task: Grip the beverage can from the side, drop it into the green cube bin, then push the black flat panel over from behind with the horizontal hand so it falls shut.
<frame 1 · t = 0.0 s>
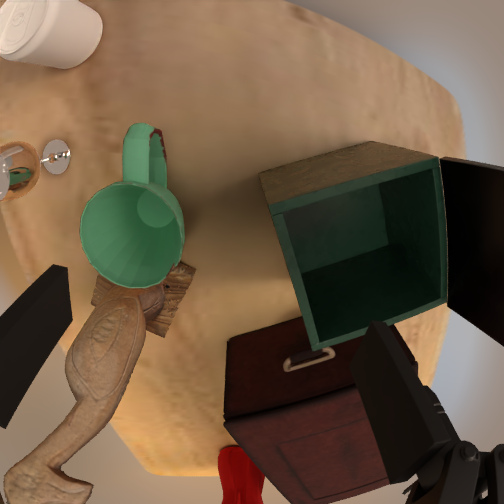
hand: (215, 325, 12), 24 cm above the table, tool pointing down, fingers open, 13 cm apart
beverage can: (76, 38, 26), on the table
wineglass: (57, 156, 32), on the table
mug: (158, 186, 34), on the table
bird sculpture: (141, 284, 39), on the table
storage box: (318, 393, 48), on the table
water bottle: (241, 451, 55), on the table
green cube bin: (332, 211, 35), on the table
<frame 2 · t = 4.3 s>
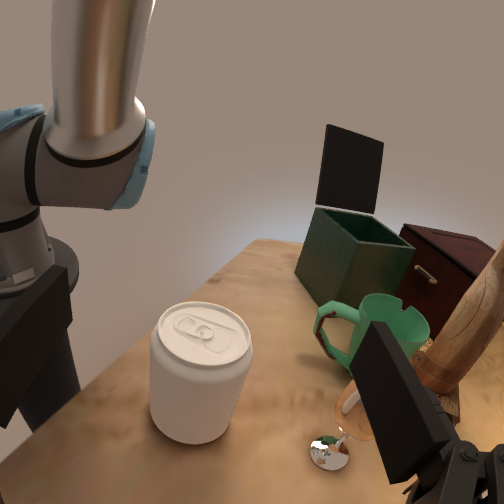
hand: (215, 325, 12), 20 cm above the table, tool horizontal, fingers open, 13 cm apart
black flat panel: (352, 170, 55), point 21 cm above the table, hinge at 105.1°
beverage can: (189, 414, 28), on the table
wineglass: (328, 453, 27), on the table
mug: (347, 370, 39), on the table
bird sculpture: (425, 391, 37), on the table
storage box: (451, 309, 61), on the table
green cube bin: (339, 292, 57), on the table
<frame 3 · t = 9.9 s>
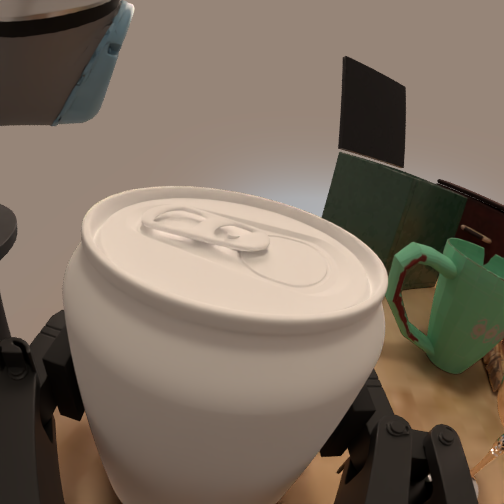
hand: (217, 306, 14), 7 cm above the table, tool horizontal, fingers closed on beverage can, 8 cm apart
black flat panel: (376, 113, 41), point 21 cm above the table, hinge at 105.1°
beverage can: (193, 470, 12), on the table, touching gripper
wineglass: (450, 490, 11), on the table
mug: (425, 357, 24), on the table
storage box: (492, 284, 48), on the table
green cube bin: (375, 264, 42), on the table
when the fingers open (15 cm above the table, at t = 19.8 s): beverage can drops 8 cm, resting on green cube bin.
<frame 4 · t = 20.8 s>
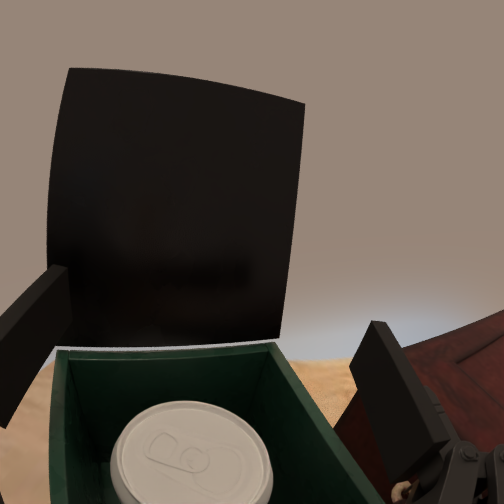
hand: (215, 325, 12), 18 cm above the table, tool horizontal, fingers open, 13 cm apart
black flat panel: (176, 213, 16), point 21 cm above the table, hinge at 105.1°
storage box: (468, 470, 22), on the table
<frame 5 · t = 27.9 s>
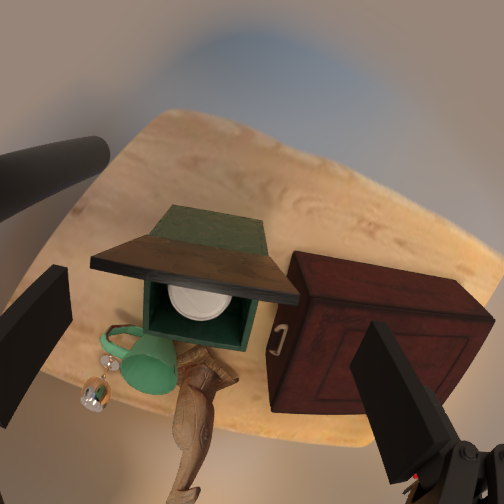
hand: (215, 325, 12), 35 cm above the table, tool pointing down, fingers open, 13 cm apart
black flat panel: (201, 261, 26), point 21 cm above the table, hinge at 105.1°
beverage can: (208, 255, 48), point 1 cm above the table, touching green cube bin
wineglass: (110, 362, 58), on the table
mug: (149, 331, 55), on the table
bird sculpture: (201, 369, 59), on the table
storage box: (365, 321, 55), on the table
green cube bin: (210, 253, 49), on the table
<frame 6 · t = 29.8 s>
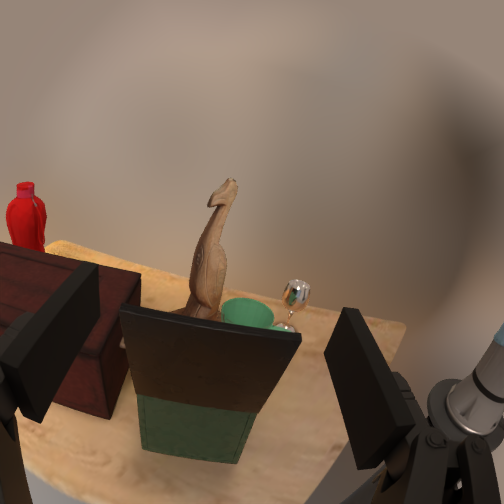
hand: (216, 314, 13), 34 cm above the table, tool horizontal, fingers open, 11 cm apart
black flat panel: (202, 372, 26), point 21 cm above the table, hinge at 105.1°
wineglass: (285, 330, 71), on the table
mug: (248, 357, 60), on the table
bird sculpture: (198, 327, 66), on the table
storage box: (45, 347, 47), on the table
water bottle: (34, 285, 62), on the table
green cube bin: (193, 422, 43), on the table
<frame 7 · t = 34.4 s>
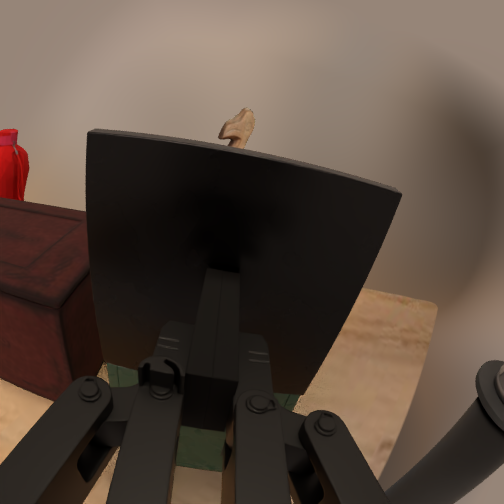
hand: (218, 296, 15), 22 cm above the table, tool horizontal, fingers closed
black flat panel: (218, 296, 16), point 21 cm above the table, hinge at 97.6°, touching gripper
bird sculpture: (203, 299, 54), on the table
storage box: (12, 317, 36), on the table
water bottle: (12, 252, 51), on the table
green cube bin: (195, 417, 31), on the table
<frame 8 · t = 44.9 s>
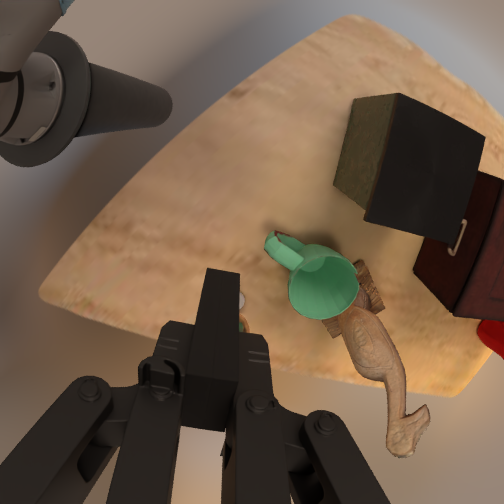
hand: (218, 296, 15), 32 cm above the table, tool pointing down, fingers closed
black flat panel: (431, 174, 30), point 14 cm above the table, hinge at -0.1°
wineglass: (231, 299, 53), on the table
mug: (299, 248, 49), on the table
bird sculpture: (345, 297, 53), on the table
storage box: (487, 242, 50), on the table
water bottle: (488, 320, 58), on the table
green cube bin: (383, 154, 43), on the table
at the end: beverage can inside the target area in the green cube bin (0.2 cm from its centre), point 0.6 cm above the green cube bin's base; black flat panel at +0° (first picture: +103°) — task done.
